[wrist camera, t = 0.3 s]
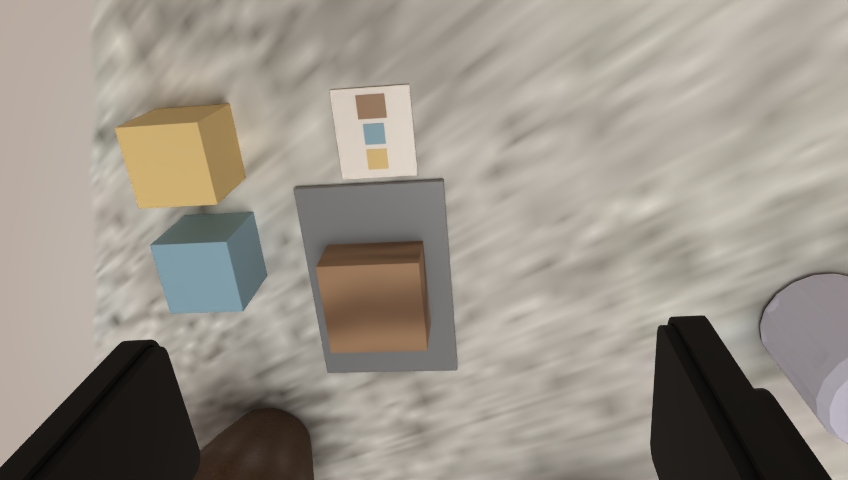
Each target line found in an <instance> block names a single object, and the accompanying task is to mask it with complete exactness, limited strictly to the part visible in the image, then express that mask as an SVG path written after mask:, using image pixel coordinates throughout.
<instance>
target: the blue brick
mask: <svg viewBox="0 0 848 480" xmlns="http://www.w3.org/2000/svg"><path fill="white" fill-rule="evenodd" d="M150 247H151V250H152V253H153V257H154V260H155V263H156V267H157V270H158V273H159V277H160V280H161V283H162V287H163V290H164V293H165V297H166V300H167V303H168V307H169V310H170V313H171V314H172V313H205V312H237V311H244V309H245V308H246V306H247V305H248V303H249V302H250V300H251V299H252V297H253V296H254V295H255V293H256V292H257V290H258V289H259V287H260V286H261V284H262V283H263V281H264V280H265V278H266V277H267V272H266V268H265V263H264V258H263V254H262V249H261V245H260V240H259V235H258V231H257V226H256V222H255V217H254V213H253V212H244V213H224V214H204V215H185V216H184V217H182V218H181V219H180V220H179V221H178V222H177V223H175V224H174V225H173V226H172V227H171V228H170V229H168V230H167V231H166V232H165V233H164V234H163V235H161V236H160V237H159V238H158V239H157V240H156V241H154V242H153V243H152V244H151V245H150Z"/></svg>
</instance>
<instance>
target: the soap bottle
mask: <svg viewBox="0 0 848 480" xmlns="http://www.w3.org/2000/svg"><path fill="white" fill-rule="evenodd" d="M760 330H761V339H762V343H763V345H764V346H765V348H766V349H767V351H768V352H769V354H770V355H771V356H772V358H773V359H774V361H775V362H776V363H777V365H778V366H779V367H780V369H781V370H782V371H783V373H784V374H785V375H786V377H787V378H788V379H789V381H790V382H791V383H792V385H793V386H794V387H795V389H796V390H797V391H798V393H799V394H800V395H801V397H802V398H803V400H804V401H805V402H806V404H807V405H808V406H809V408H810V409H811V410H812V412H813V413H814V414H815V416H816V417H817V418H818V420H819V421H820V422H821V424H822V425H823V426H824V428H825V429H826V430H827V431H828V432H829V433H831V434H833V435H834V436H836V437H837V438H839V439H841V440H842V441H844V442H846V443H847V444H848V276H844V275H840V274H835V273H834V274H821V275H813V276H810V277H807V278H804V279H801V280H799V281H796V282H793V283H792V284H791V285H789V286H788V287H786V288H785V289H783V290H782V291H781V292H779V293H778V294H776V296H775V297H774V298H773V300H772V301H771V302H770V303H769V305H768V306H767V307H766V309H765V311H764V314H763V317H762V320H761V323H760Z"/></svg>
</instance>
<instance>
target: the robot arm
mask: <svg viewBox="0 0 848 480" xmlns="http://www.w3.org/2000/svg"><path fill="white" fill-rule="evenodd" d="M650 446H651V455H652V460H653V463H654V466H655V469H656V472H657V475H658V478H659V480H832V479H831V478H830V476H829V475H828V473H827V472H826V470H825V469H824V467H823V466H822V465H821V463H820V462H819V460H818V459H817V457H816V456H815V455H814V453H813V452H812V450H811V449H810V447H809V446H808V445H807V443H806V442H805V440H804V439H803V437H802V436H801V435H800V433H799V432H798V430H797V429H796V427H795V426H794V425H793V423H792V422H791V420H790V419H789V417H788V416H787V415H786V413H785V412H784V410H783V409H782V407H781V406H780V404H779V403H778V402H777V400H776V399H775V397H774V396H773V395H772V394H771V393H770V392H769V391H768V390H766V389H764V388H756V389H754V388H753V387H752V385H751V384H750V382H749V381H748V379H747V378H746V376H745V375H744V373H743V372H742V370H741V369H740V367H739V366H738V364H737V363H736V361H735V360H734V358H733V357H732V355H731V354H730V352H729V351H728V349H727V348H726V346H725V345H724V343H723V342H722V340H721V339H720V337H719V336H718V334H717V333H716V331H715V330H714V328H713V327H712V325H711V324H710V322H709V320H708V319H707V318H706V317H705V316H680V317H670V318H669V321H668V325H660V326H659V327H658V330H657V342H656V359H655V375H654V391H653V407H652V423H651V439H650ZM199 465H200V450H199V447H198V444H197V441H196V438H195V435H194V432H193V429H192V425H191V422H190V419H189V416H188V413H187V410H186V407H185V404H184V401H183V398H182V395H181V392H180V389H179V385H178V382H177V379H176V376H175V373H174V370H173V367H172V364H171V361H170V358H169V355H168V352H167V350H166V349H165V348H164V347H160V346H159V344H158V343H157V342H156V341H154V340H133V341H123V342H121V343H120V344H119V345H118V346H117V347H116V348H115V349H114V350H113V351H112V352H111V353H110V354H109V355H108V356H107V357H106V358H105V359H104V360H103V361H102V362H101V363H100V364H99V365H98V366H97V368H96V369H95V370H94V371H93V372H92V373H91V374H90V375H89V376H88V377H87V378H86V379H85V380H84V381H83V382H82V383H81V384H80V385H79V386H78V387H77V388H76V389H75V390H74V392H73V393H72V394H71V395H70V396H69V397H68V398H67V399H66V400H65V401H64V402H63V403H62V404H61V405H60V406H59V407H58V408H57V409H56V410H55V411H54V412H53V413H52V414H51V415H50V417H48V418H47V419H46V420H45V422H44V423H43V424H42V425H41V426H40V427H39V428H38V429H37V430H36V431H35V432H34V433H33V434H32V435H31V436H30V437H29V438H28V439H27V440H26V441H25V442H24V443H23V444H22V446H20V447H19V449H18V450H17V451H16V452H15V453H14V454H13V455H12V456H11V457H10V458H9V459H8V460H7V461H6V462H5V463H4V464H3V465H2V466H1V467H0V480H193V478H194V477H195V475H196V473H197V471H198V469H199Z"/></svg>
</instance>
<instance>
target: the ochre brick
mask: <svg viewBox="0 0 848 480" xmlns="http://www.w3.org/2000/svg"><path fill="white" fill-rule="evenodd" d="M115 131H116V134H117V138H118V141H119V144H120V148H121V151H122V154H123V157H124V161H125V164H126V167H127V171H128V174H129V177H130V181H131V184H132V187H133V190H134V194H135V197H136V200H137V204H138V207H139V209H140V208H159V207H178V206H198V205H217V204H218V203H219V202H220V201H222V200H223V199H224V198H225V197H226V196H227V195H228V194H229V193H230V192H231V191H232V190H233V189H234V188H235V187H237V186H238V185H239V184H240V183H241V182H242V181H243V180H244V179H245V178H246V176H245V171H244V167H243V162H242V158H241V153H240V148H239V144H238V139H237V135H236V130H235V125H234V121H233V116H232V112H231V107H230V104H218V105H204V106H190V107H176V108H162V109H155V110H153V111H150V112H148V113H146V114H144V115H142V116H139V117H137V118H135V119H133V120H131V121H129V122H126V123H124V124H122V125H120V126H118V127H116V128H115Z"/></svg>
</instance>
